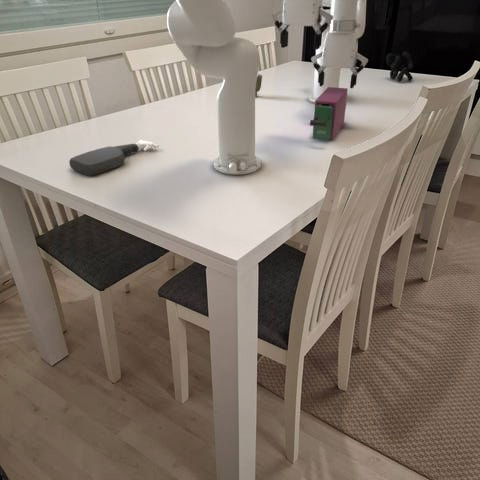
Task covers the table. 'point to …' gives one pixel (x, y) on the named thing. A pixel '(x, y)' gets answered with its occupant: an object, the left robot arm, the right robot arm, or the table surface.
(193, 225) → the table surface
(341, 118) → the tall purple box
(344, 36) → the right robot arm
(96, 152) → the spray bottle
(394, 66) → the squiggle
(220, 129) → the left robot arm
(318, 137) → the drawer
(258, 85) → the cup
